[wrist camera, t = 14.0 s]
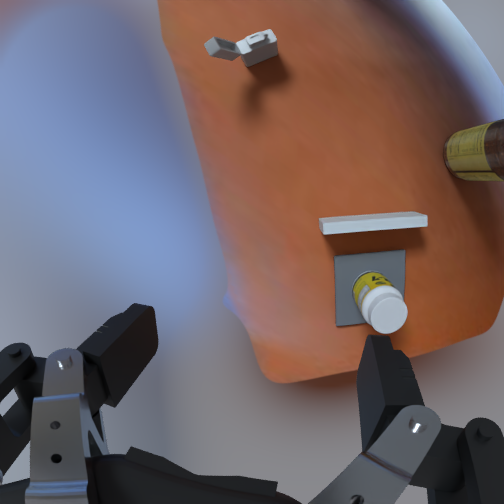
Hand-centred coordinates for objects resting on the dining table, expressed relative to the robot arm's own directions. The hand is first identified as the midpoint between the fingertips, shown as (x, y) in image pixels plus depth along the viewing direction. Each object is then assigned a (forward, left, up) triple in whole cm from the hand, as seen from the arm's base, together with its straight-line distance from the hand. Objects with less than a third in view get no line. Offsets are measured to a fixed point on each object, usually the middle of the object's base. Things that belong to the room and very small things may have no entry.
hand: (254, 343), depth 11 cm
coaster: (+8, +11, -26) cm, 30 cm away
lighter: (-21, -1, -26) cm, 34 cm away
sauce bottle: (-8, +25, -26) cm, 37 cm away
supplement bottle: (+8, +11, -26) cm, 29 cm away
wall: (0, +11, -26) cm, 28 cm away
